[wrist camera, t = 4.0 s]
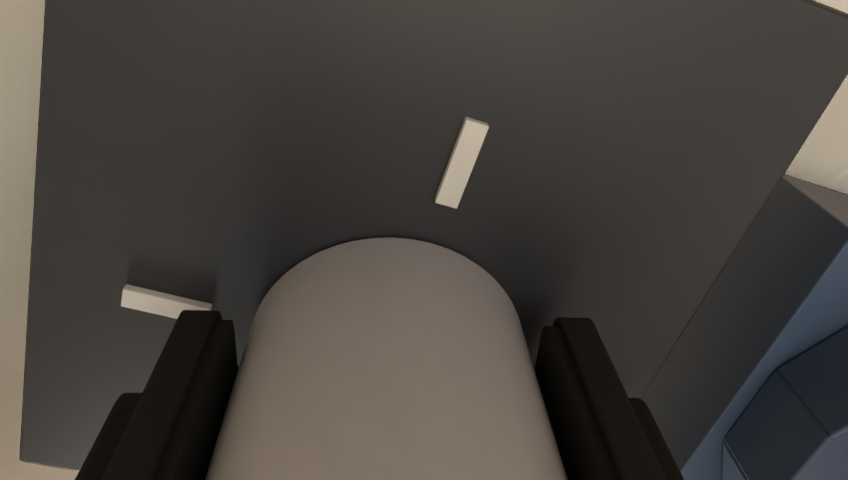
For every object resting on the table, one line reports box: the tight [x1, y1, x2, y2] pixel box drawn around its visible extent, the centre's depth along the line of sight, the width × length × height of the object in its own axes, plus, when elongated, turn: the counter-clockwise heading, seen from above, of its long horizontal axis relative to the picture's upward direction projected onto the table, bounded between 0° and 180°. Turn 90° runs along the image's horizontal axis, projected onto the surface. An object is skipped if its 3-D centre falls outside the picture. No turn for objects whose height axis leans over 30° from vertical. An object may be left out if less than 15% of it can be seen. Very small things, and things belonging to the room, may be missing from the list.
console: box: [19, 0, 848, 471], centre depth 12 cm, size 11×12×3 cm
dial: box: [205, 237, 568, 480], centre depth 9 cm, size 5×5×5 cm
